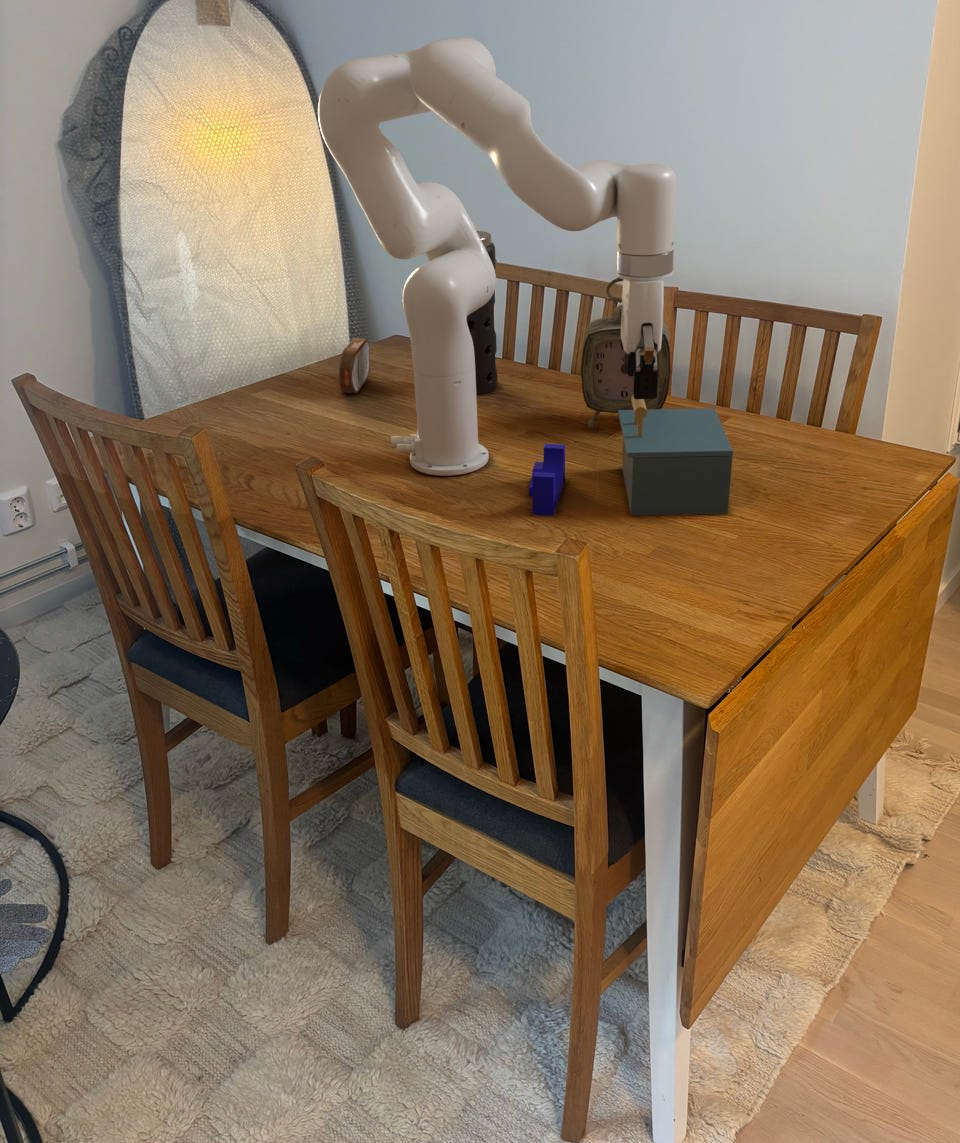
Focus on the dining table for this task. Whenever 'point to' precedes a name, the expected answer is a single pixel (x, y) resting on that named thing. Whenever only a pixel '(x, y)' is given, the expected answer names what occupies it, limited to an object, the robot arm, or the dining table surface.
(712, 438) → the lid
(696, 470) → the chest
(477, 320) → the muzzle brake
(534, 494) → the blue stepped block
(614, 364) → the tabletop clock
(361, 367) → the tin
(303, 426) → the dining table surface
